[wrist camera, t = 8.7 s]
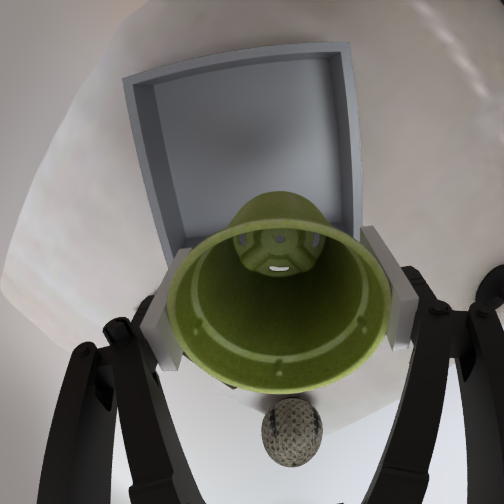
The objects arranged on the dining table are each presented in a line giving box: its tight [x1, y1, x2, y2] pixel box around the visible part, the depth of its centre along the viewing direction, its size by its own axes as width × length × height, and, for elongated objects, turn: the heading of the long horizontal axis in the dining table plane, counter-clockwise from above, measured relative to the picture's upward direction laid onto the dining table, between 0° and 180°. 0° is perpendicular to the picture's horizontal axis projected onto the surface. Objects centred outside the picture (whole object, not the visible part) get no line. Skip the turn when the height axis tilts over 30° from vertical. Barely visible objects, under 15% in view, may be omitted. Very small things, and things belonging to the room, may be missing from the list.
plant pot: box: [167, 191, 392, 394], centre depth 16 cm, size 9×9×9 cm
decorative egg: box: [261, 398, 323, 467], centre depth 51 cm, size 12×12×15 cm
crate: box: [122, 42, 363, 269], centre depth 32 cm, size 22×22×7 cm
